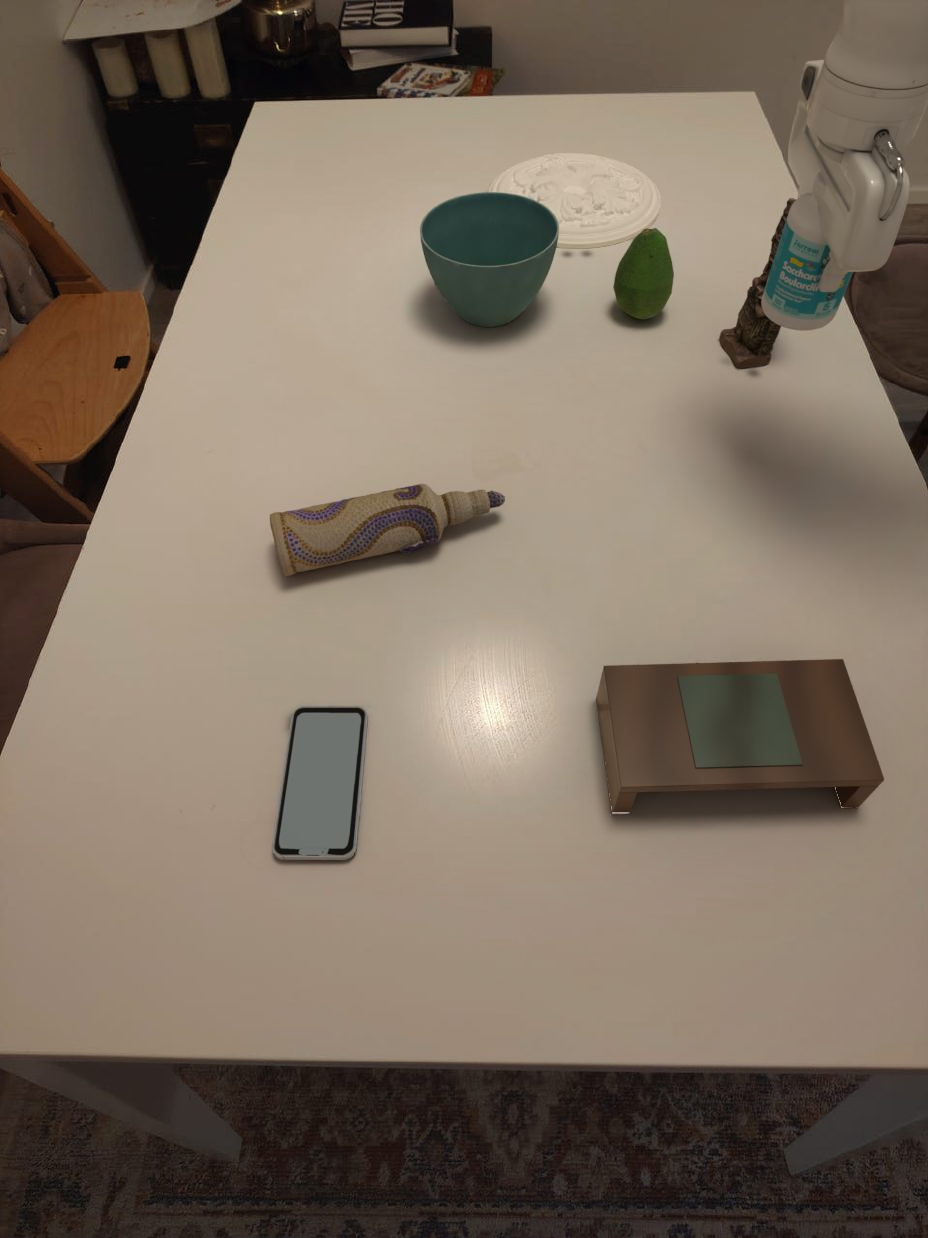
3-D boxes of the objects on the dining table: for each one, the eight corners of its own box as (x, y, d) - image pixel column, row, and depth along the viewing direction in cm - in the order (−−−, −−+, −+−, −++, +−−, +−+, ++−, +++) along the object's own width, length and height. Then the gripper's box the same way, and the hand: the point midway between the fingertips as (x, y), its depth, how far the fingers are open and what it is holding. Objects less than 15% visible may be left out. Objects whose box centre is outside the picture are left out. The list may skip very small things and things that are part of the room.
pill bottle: (757, 329, 83) (798, 194, 72) (760, 287, 87) (800, 153, 76) (835, 338, 81) (889, 203, 70) (835, 295, 86) (885, 161, 75)
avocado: (653, 293, 119) (668, 211, 109) (675, 325, 115) (693, 243, 105) (601, 302, 118) (611, 221, 108) (621, 335, 114) (634, 253, 104)
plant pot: (425, 351, 112) (419, 268, 102) (424, 275, 123) (419, 192, 113) (558, 347, 112) (566, 263, 102) (546, 271, 123) (551, 188, 113)
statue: (716, 338, 113) (756, 192, 97) (766, 332, 113) (814, 185, 97) (735, 370, 109) (780, 222, 93) (786, 363, 110) (839, 215, 93)
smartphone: (368, 705, 80) (355, 857, 71) (369, 710, 80) (356, 861, 71) (292, 705, 80) (269, 857, 71) (294, 711, 80) (271, 861, 71)
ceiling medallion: (617, 266, 123) (620, 246, 121) (456, 219, 132) (455, 199, 129) (686, 182, 137) (690, 163, 135) (536, 145, 146) (537, 125, 143)
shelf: (821, 691, 80) (844, 657, 75) (858, 808, 73) (886, 779, 68) (596, 698, 80) (603, 664, 75) (611, 815, 74) (621, 786, 68)
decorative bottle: (284, 592, 89) (271, 551, 83) (276, 541, 93) (263, 499, 88) (514, 542, 92) (516, 500, 87) (495, 495, 96) (496, 452, 91)
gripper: (950, 166, 62) (879, 325, 74) (869, 53, 74) (818, 205, 85) (866, 168, 62) (808, 327, 74) (798, 55, 74) (757, 207, 85)
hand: (813, 261), depth 80 cm, fingers closed on pill bottle, 7 cm apart
